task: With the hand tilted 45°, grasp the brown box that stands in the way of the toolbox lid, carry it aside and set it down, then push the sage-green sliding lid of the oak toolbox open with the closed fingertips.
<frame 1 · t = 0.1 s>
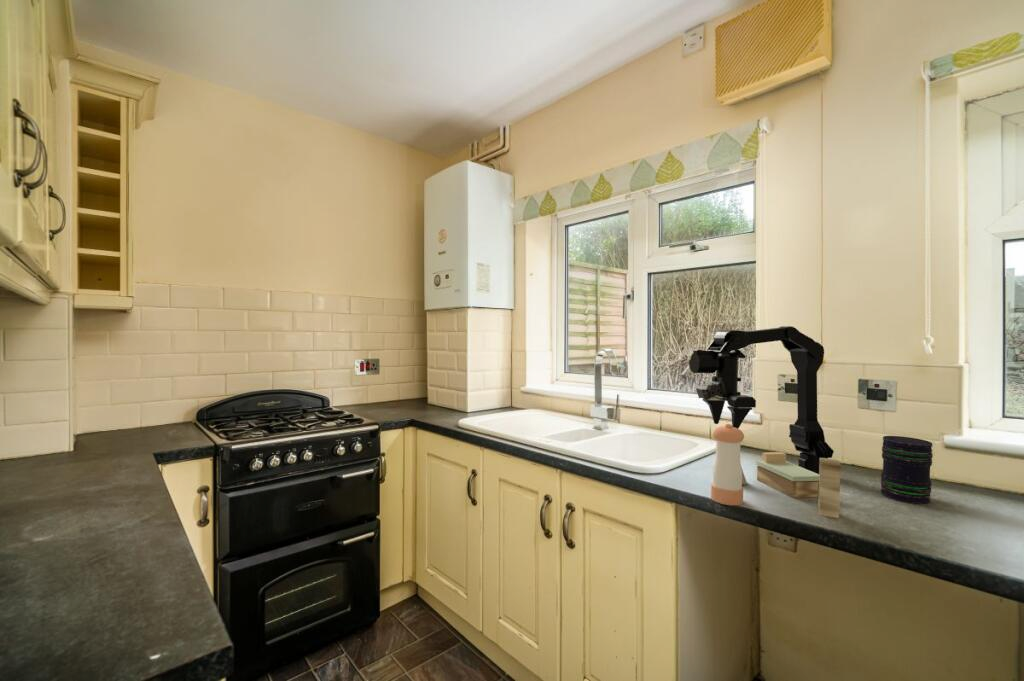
hand: (725, 427, 131), 15 cm above the worktop, tool pointing down, fingers open, 9 cm apart
storage jar: (904, 498, 117), on the worktop
lid: (788, 465, 123), point 6 cm above the worktop, slide at 0.0 cm
flask: (732, 482, 128), on the worktop
pepper shaker: (726, 500, 114), on the worktop
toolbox: (787, 487, 123), on the worktop
brown box: (828, 513, 106), on the worktop
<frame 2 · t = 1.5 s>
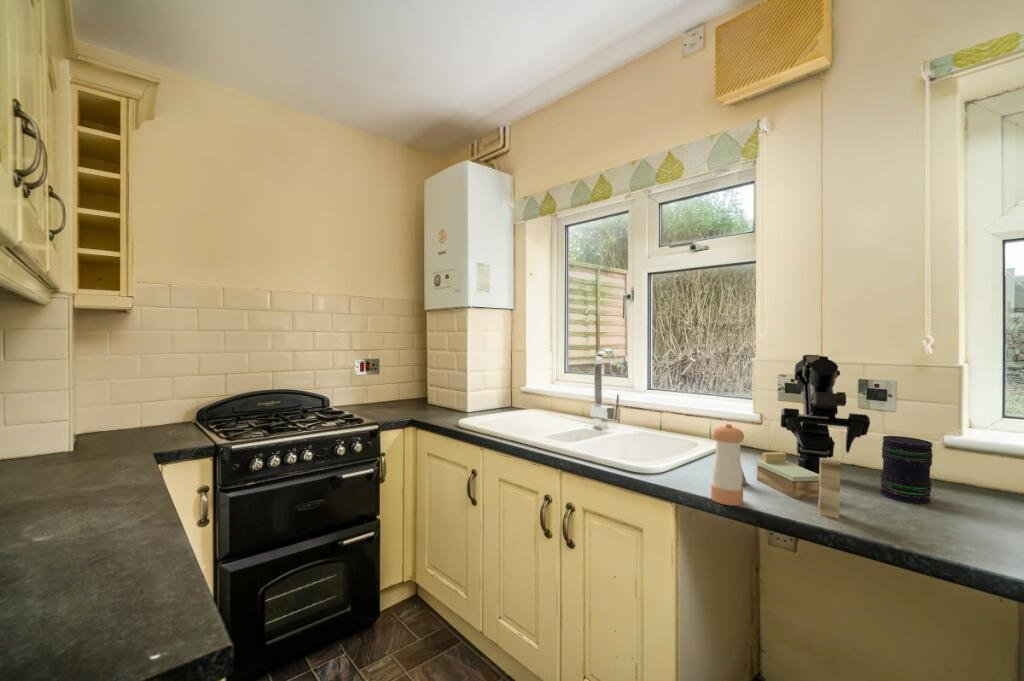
hand: (825, 449, 112), 13 cm above the worktop, tool tilted 45°, fingers open, 9 cm apart
nothing on the worktop moved.
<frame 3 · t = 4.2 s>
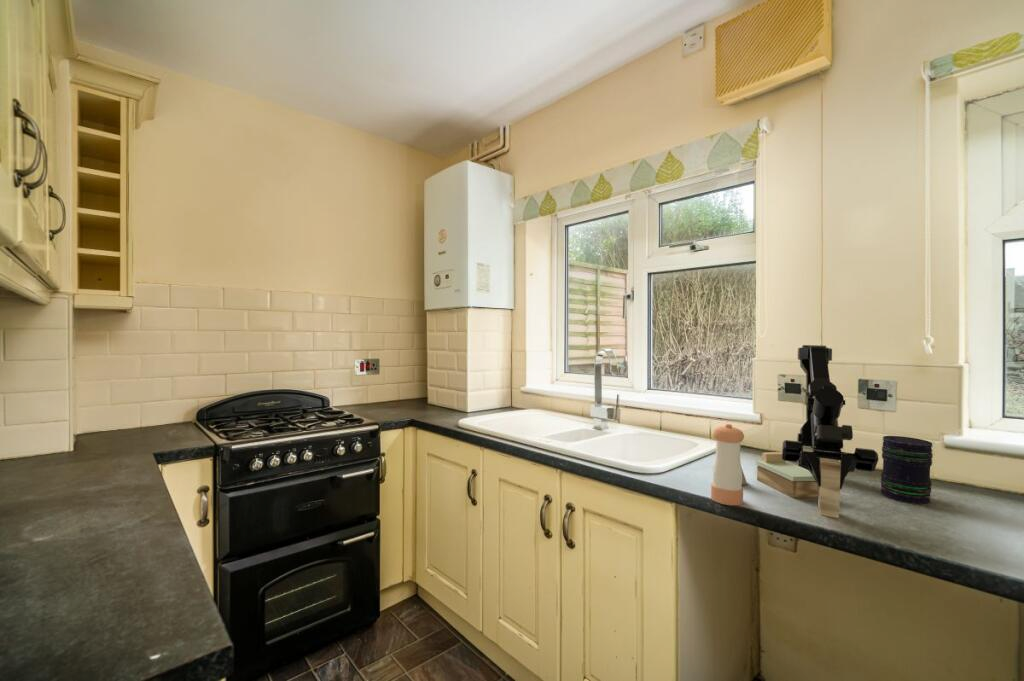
hand: (830, 487, 104), 7 cm above the worktop, tool tilted 45°, fingers closed on brown box, 4 cm apart
brown box: (828, 513, 106), on the worktop, touching gripper
everything else where it was.
when the fingers open (8 cm above the worktop, at t = 7.5 s): brown box drops 1 cm, on the worktop.
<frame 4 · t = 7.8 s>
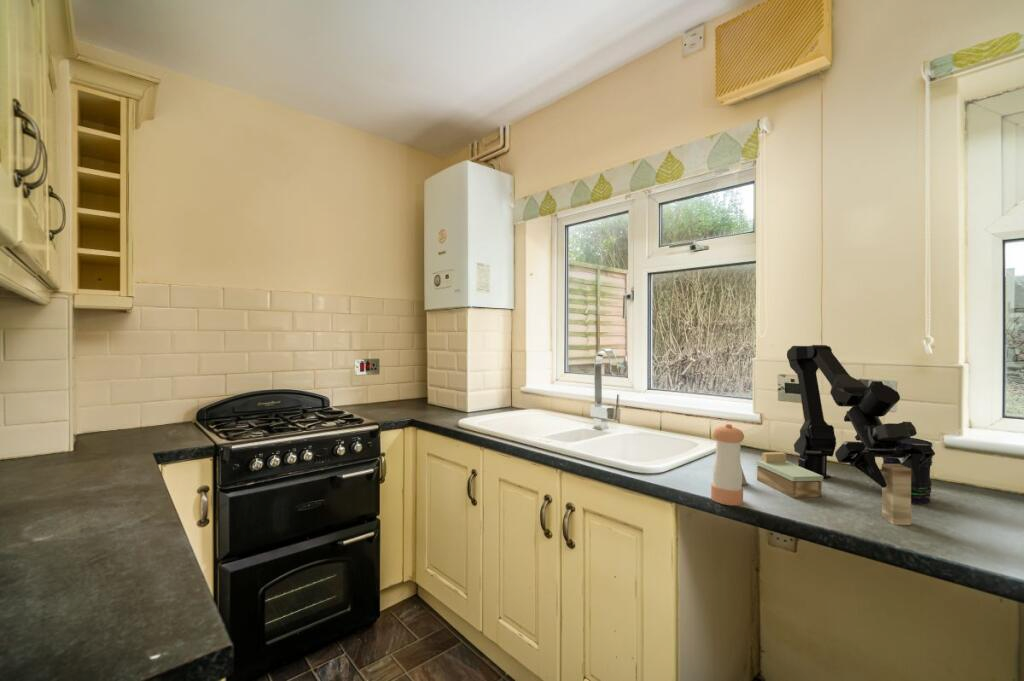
hand: (901, 487, 100), 8 cm above the worktop, tool tilted 45°, fingers open, 7 cm apart
brown box: (896, 521, 102), on the worktop
everything else where it was.
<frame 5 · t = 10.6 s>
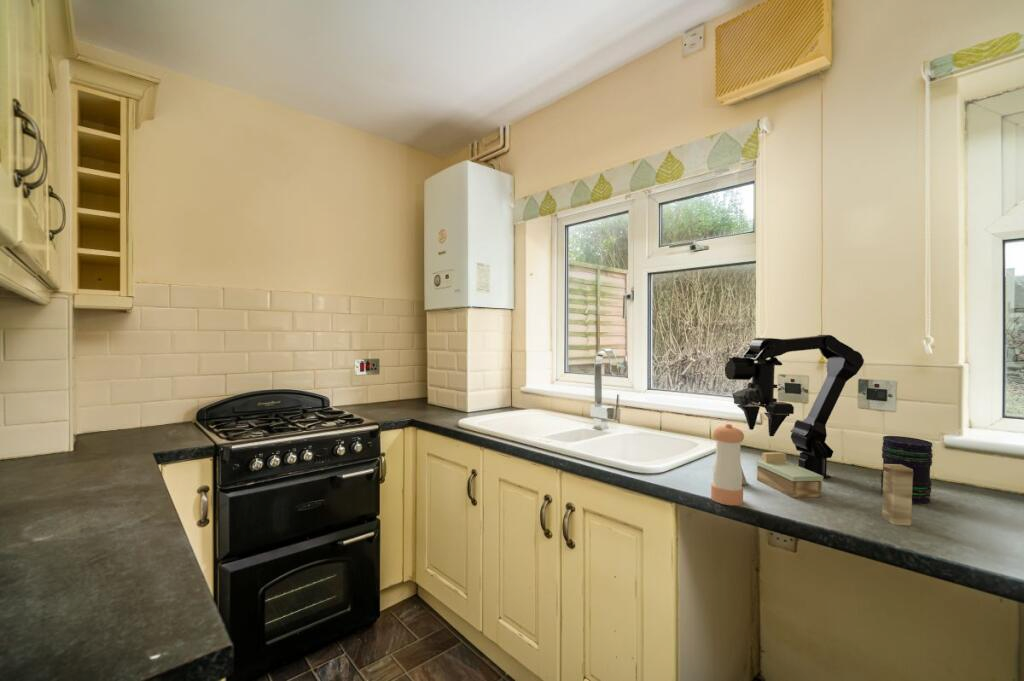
hand: (761, 432, 134), 13 cm above the worktop, tool pointing down, fingers open, 8 cm apart
nothing on the worktop moved.
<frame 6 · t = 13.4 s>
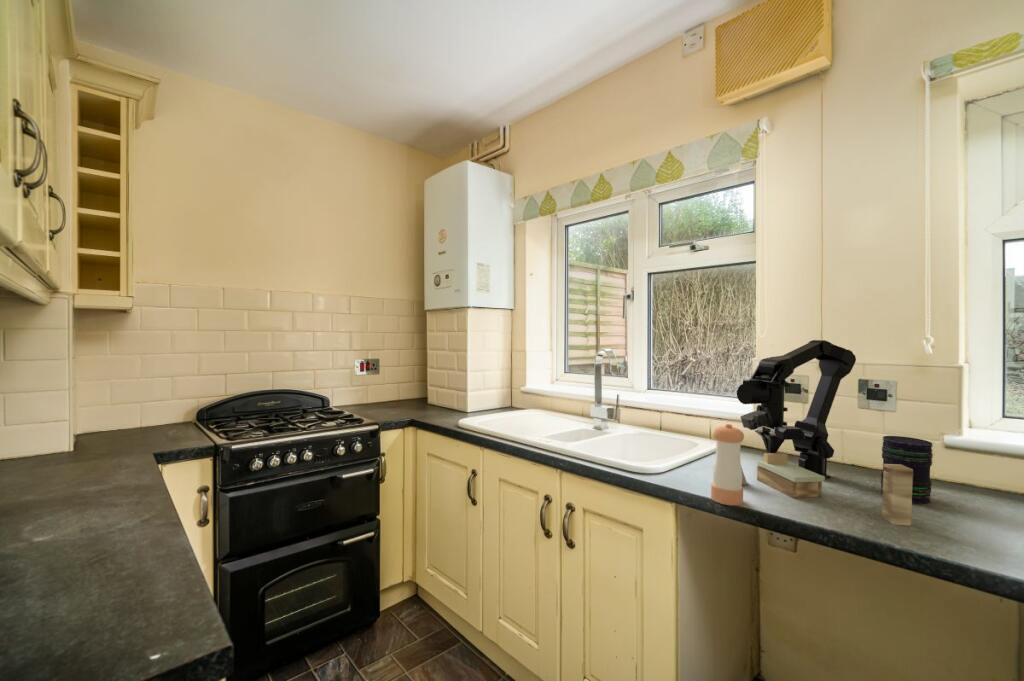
hand: (770, 457, 130), 7 cm above the worktop, tool pointing down, fingers closed
lid: (789, 466, 122), point 6 cm above the worktop, slide at 0.6 cm, touching gripper
everything else where it was.
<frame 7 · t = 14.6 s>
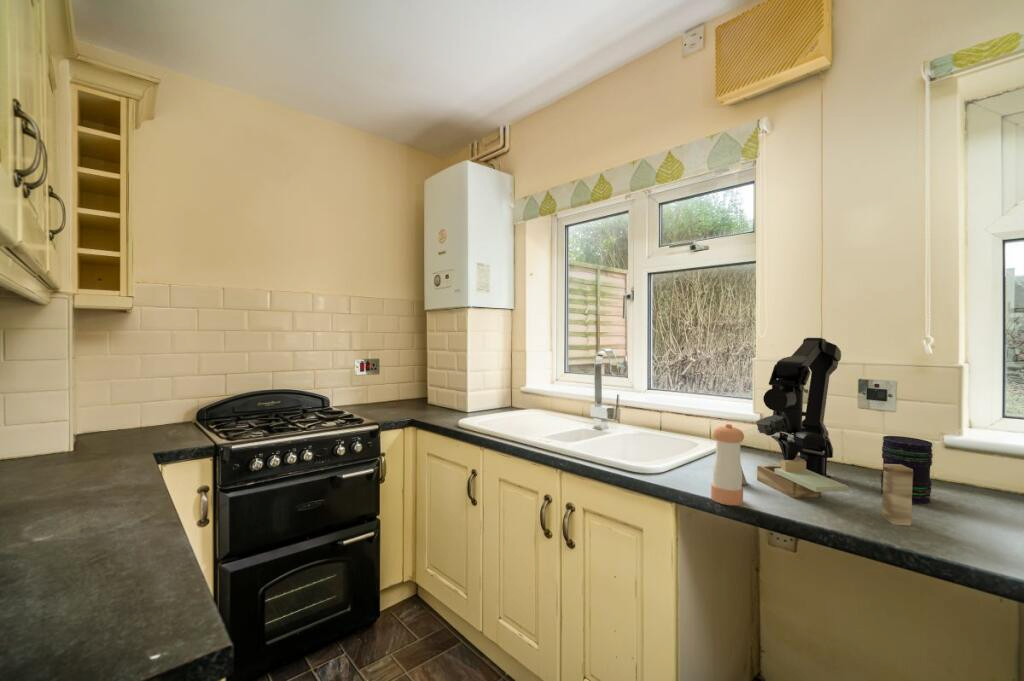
hand: (788, 464, 123), 7 cm above the worktop, tool pointing down, fingers closed
lid: (809, 474, 115), point 6 cm above the worktop, slide at 7.5 cm, touching gripper
everything else where it was.
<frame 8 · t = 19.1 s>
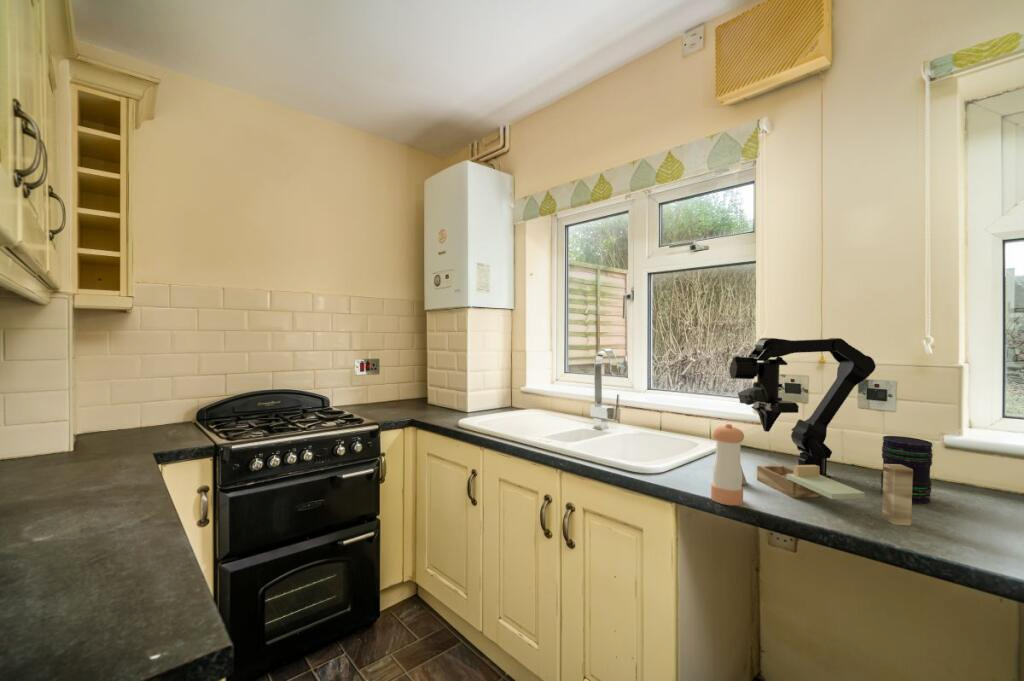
hand: (766, 431, 136), 13 cm above the worktop, tool pointing down, fingers closed
lid: (823, 480, 111), point 6 cm above the worktop, slide at 12.0 cm
everything else where it was.
at the end: lid slide at 12.0 cm; brown box inside the target area (0.2 cm from its centre), on the worktop; the gripper is holding nothing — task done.
